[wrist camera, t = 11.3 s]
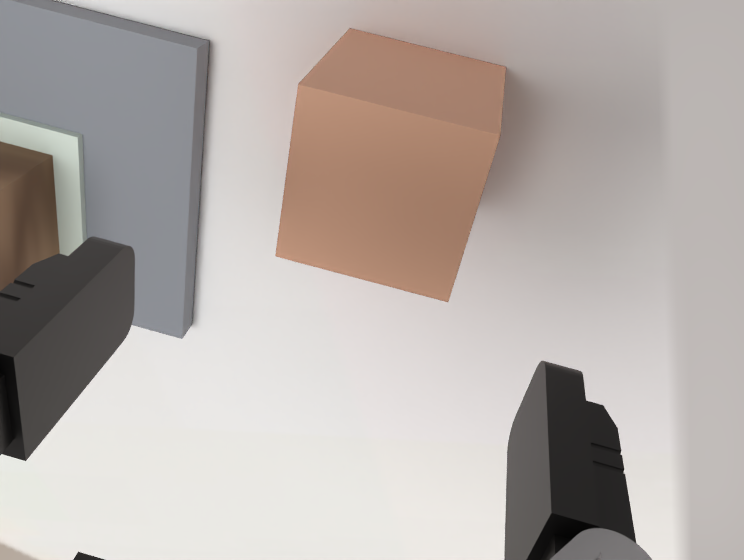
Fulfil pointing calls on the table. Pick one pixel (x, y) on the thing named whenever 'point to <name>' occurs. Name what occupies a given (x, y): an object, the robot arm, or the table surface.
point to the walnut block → (26, 210)
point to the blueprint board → (113, 138)
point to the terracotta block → (389, 162)
